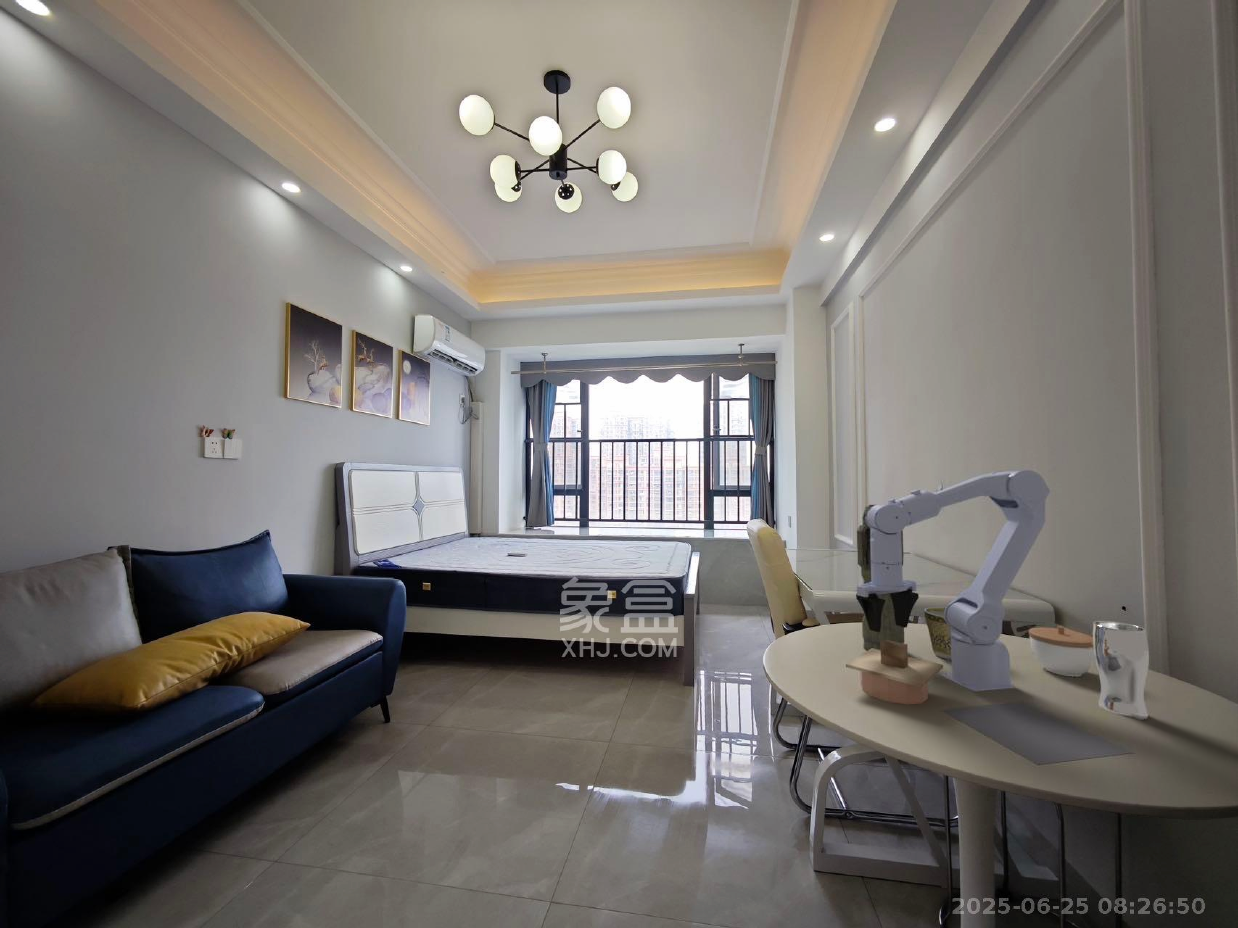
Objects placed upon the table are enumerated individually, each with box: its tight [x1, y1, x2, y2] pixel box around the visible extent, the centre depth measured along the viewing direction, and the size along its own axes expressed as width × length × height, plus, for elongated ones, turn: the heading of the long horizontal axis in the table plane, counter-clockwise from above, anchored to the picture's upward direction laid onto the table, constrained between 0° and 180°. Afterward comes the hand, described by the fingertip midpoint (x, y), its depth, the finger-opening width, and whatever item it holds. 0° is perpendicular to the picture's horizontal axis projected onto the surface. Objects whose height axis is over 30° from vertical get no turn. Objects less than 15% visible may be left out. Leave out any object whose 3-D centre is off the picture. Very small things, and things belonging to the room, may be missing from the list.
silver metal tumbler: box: [1091, 620, 1150, 721], centre depth 86 cm, size 7×7×15 cm
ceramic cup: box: [923, 606, 952, 661], centre depth 115 cm, size 13×10×10 cm
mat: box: [940, 701, 1135, 766], centre depth 79 cm, size 17×17×1 cm
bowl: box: [859, 671, 929, 705], centre depth 94 cm, size 11×11×5 cm
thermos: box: [856, 504, 905, 651], centre depth 119 cm, size 9×12×35 cm
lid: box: [845, 640, 944, 687], centre depth 94 cm, size 13×13×5 cm
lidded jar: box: [1028, 625, 1095, 678], centre depth 105 cm, size 11×11×9 cm
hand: (888, 628), depth 101 cm, fingers open, 7 cm apart
